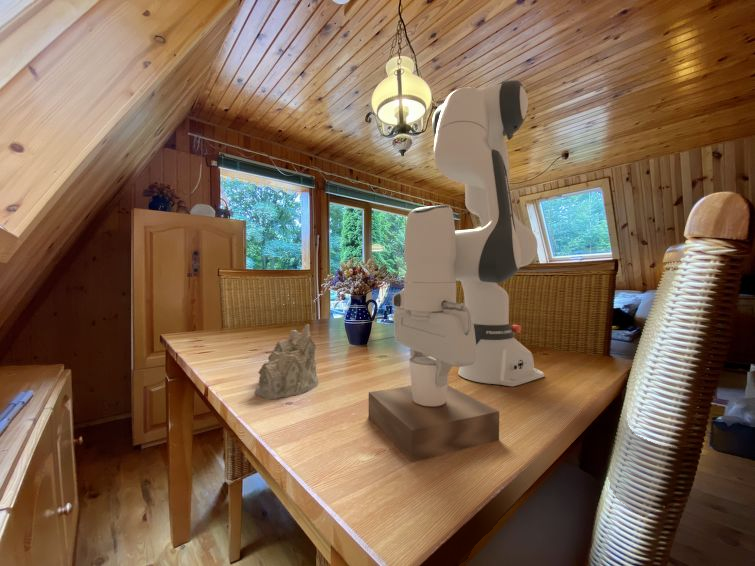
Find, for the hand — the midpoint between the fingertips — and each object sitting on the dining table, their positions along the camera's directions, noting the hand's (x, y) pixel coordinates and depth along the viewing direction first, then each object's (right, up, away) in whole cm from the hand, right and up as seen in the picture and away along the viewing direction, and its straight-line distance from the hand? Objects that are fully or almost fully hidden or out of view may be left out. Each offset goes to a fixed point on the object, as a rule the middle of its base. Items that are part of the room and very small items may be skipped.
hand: (429, 379), depth 54 cm
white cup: (0, -4, 0) cm, 4 cm away
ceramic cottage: (-31, -8, +22) cm, 39 cm away
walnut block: (0, -9, 0) cm, 9 cm away
